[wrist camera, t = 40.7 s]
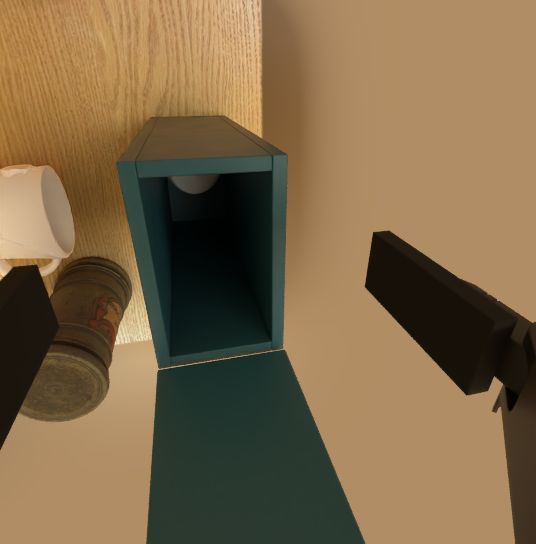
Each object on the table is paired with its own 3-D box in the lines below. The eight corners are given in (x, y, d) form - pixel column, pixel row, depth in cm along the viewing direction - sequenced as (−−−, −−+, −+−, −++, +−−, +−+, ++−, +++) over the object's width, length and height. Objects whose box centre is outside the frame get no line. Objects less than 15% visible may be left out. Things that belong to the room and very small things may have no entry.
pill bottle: (218, 133, 39) (228, 147, 31) (212, 180, 42) (221, 205, 33) (167, 124, 38) (165, 136, 29) (165, 174, 40) (161, 198, 32)
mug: (-42, 162, 36) (-94, 181, 29) (57, 158, 37) (30, 174, 31) (1, 265, 41) (-33, 301, 34) (86, 257, 43) (69, 289, 36)
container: (62, 316, 46) (5, 432, 31) (52, 255, 42) (-20, 353, 27) (134, 314, 48) (114, 421, 33) (130, 256, 44) (107, 347, 29)
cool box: (151, 117, 38) (115, 161, 16) (224, 115, 39) (288, 154, 17) (167, 225, 44) (158, 369, 22) (230, 220, 45) (283, 349, 23)
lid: (134, 717, 9) (178, 780, 14) (399, 623, 11) (361, 707, 16) (157, 369, 21) (177, 466, 26) (285, 348, 23) (282, 443, 27)
